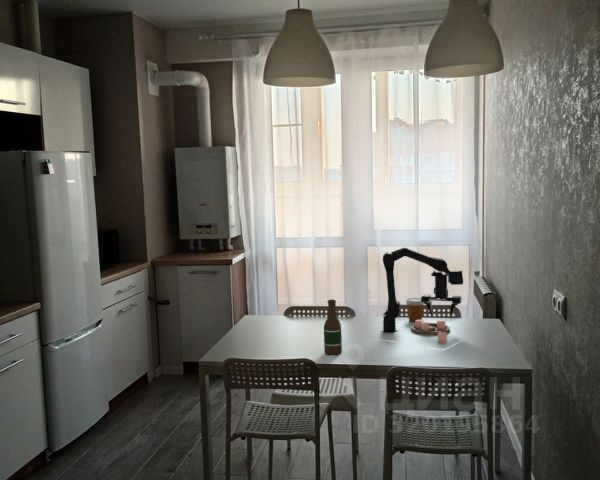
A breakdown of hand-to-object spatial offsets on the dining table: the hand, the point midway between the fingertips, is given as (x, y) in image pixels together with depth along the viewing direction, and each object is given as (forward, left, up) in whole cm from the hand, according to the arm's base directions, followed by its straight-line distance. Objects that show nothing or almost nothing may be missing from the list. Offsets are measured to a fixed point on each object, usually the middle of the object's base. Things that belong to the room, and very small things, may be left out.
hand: (441, 316), depth 295 cm
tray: (-2, +5, -8) cm, 10 cm away
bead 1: (0, 0, -7) cm, 7 cm away
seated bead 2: (-7, +5, -7) cm, 11 cm away
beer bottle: (-58, +22, -8) cm, 63 cm away
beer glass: (+11, +21, -8) cm, 25 cm away
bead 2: (-18, -10, -8) cm, 22 cm away
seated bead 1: (-5, +9, -7) cm, 13 cm away
